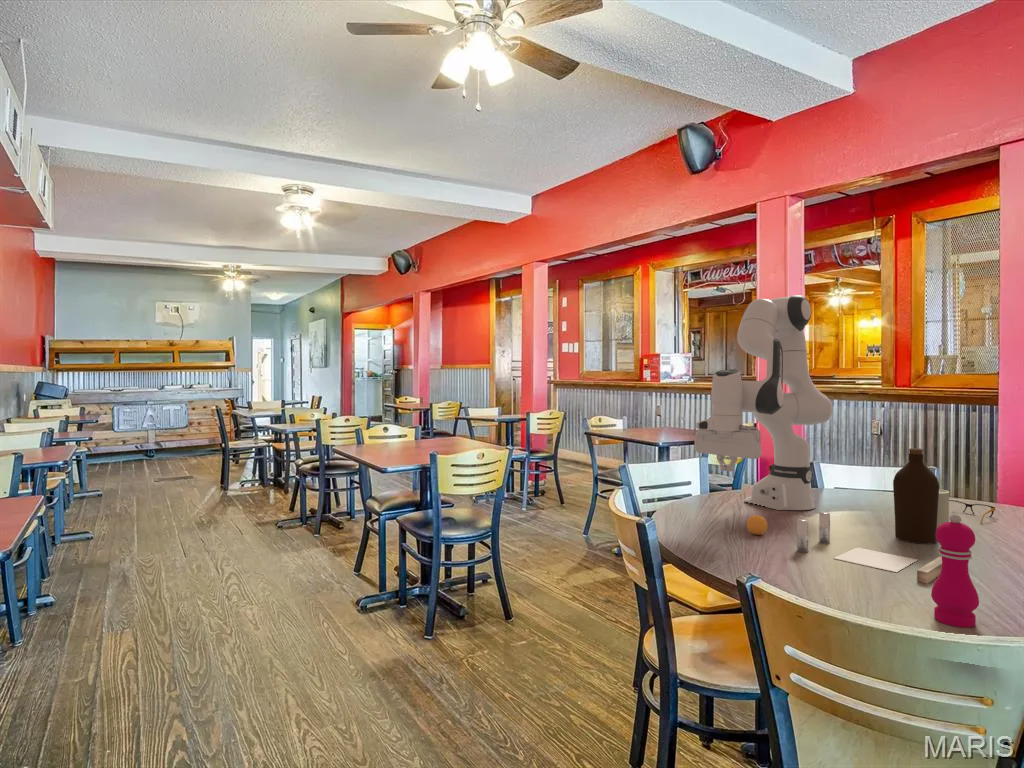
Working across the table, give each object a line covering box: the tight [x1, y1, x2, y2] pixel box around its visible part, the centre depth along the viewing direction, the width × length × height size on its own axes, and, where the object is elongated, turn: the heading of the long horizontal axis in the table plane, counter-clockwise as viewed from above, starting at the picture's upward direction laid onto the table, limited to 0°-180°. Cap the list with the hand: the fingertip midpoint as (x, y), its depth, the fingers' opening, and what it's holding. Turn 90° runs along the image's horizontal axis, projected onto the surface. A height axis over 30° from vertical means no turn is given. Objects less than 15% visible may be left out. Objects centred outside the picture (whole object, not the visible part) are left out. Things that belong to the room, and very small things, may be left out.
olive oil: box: [892, 447, 940, 544], centre depth 169 cm, size 11×11×25 cm
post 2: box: [818, 511, 831, 545], centre depth 167 cm, size 3×3×8 cm
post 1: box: [796, 518, 809, 553], centre depth 159 cm, size 3×3×8 cm
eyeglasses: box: [949, 499, 996, 525], centre depth 195 cm, size 14×14×4 cm
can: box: [937, 488, 950, 528], centre depth 179 cm, size 9×9×12 cm
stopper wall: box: [916, 555, 942, 584], centre depth 141 cm, size 2×20×2 cm, turn 129°
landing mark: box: [833, 547, 918, 574], centre depth 151 cm, size 14×14×1 cm
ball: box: [746, 514, 768, 536], centre depth 175 cm, size 6×6×6 cm
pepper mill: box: [930, 513, 980, 628], centre depth 114 cm, size 7×7×20 cm
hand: (727, 470), depth 182 cm, fingers closed
